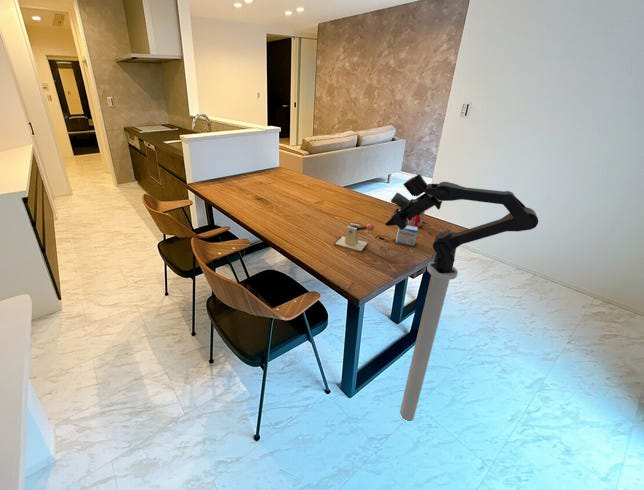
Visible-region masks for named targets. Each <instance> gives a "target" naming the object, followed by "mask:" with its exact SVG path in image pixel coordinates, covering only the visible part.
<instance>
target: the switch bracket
mask: <svg viewBox="0 0 644 490" xmlns="http://www.w3.org/2000/svg"><path fill="white" fill-rule="evenodd" d="M351 226H356V228H354V227H351ZM358 227H361V224H357V223H353V222H350V223H349V225H347V226H346V229H345V236H343V235H342V236H341V238H340V239H338V240H337V241H336V242H335V245H337V246H341V247H344V248H347V249H352V250H355V251H359V252H362V251H363V250H364V249H365V247H366V246H367V245H368V242H367V241H363V240H360V239H359V236H360V230H357V228H358Z"/></svg>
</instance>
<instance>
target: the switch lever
mask: <svg viewBox="0 0 644 490" xmlns="http://www.w3.org/2000/svg"><path fill="white" fill-rule="evenodd" d="M351 227H354V228H356V226H351ZM374 229H375V225H374V224H373V223H368V224H366V226H365V225H364V226H360V227H358V228H357V230H359V231H363V230H367V231H369V232H372V231H374Z"/></svg>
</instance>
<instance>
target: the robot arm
mask: <svg viewBox="0 0 644 490" xmlns="http://www.w3.org/2000/svg"><path fill="white" fill-rule="evenodd" d="M403 187H404V188H405V189H406V191H408V193H409V194H410V195H411V196H412V197H415V198H410V199H408V198H407V197H406V196H405V195H403V194H401V193H400V192H396V193H395V195H394V196H393V197H392V198H391V199H390V203H391V204H394V205H395V206H397V207H398V208H397V207H396V210H395V211H394V212H393V213H392V215H391V216H390V219H388V220H387V221H386V222H385V226H386V227H392V226H397V228H400V229H401V230H402V229H404V228H406V226H407V225H408V221H407V219H408V220H409V221H410V220H412V218H413V217H415V216H417V215H421V214H422V212H424V211H425V212H426V211H428V210H429V209H431V208H433V207H435V208H436V209H437V210H440V209H441V208H442V204H443V202H454V201H460V200H463V201H472V202H479V203H488V204H496V205H503V206H504V207H505V208H506V210H507V211H508V212H509V213H507V214H506V215H504V216H503V217H501V218H499V219H496V220H493V221H490V222H487V223H483V224H480V225H477V226H474V227H470V228H468V229H464V230H461V231H459V232H452V231H451V229H447V230H446V231H441V232H440V231H439V233H438V234H437V235H436V236H435V238H434V240H433V243H432V248H433V250H434V251H435V253H436V254H435V257H434V261H433V262H434V263H431V264H430V265H431V266H432V267H433V268H434V269H435V270H436V271H437V272H439V273H455V270H453V269H452V268H453V267H454V263H455V260H456V253H457V252H456V251H457V248H459V247H460V246H461V245H464V244H468V243H472V242H475V241H478V240H482V239H486V238H489V237H492V236H495V235H496V236H497V235H499V234H502V233H505V232H506V233H507V232H515V233H516V232H518V233H519V232H524V231H530V230H533V229H535V228H536V227H537V226H538V225H539V218H538V216H537V213H536V211H535V209H533V208H530V207H527V206H526V205H525V204H524V203H523V202H522V201H521V200H520V199H518V198H517V196H516V195H515V194H514V192H512V191H510V190H506V191H505V190H504V191H503V190H493V189H486V188H485V189H484V188H475V187H474V188H473V187H466V186H462V185H460V184H457V183H453V182H449V181H441V182H439V183H427V182H426V181H425V179H424V178H423V176H422V175H421V174H420V173H419V174H417V175H415V176H413V177H411V178H409V179H408V180H406V181H405V182H404V183H403Z"/></svg>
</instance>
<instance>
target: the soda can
mask: <svg viewBox="0 0 644 490" xmlns="http://www.w3.org/2000/svg"><path fill="white" fill-rule="evenodd" d="M425 212H426V211H424V212H422V214H421V215H417V216H415V217H413V218H412V220H410V221H409V220H408V219H407V221H408V224H407V225H408V226H414V227H418V228H420V227H422V224H423V221H424V217H425Z"/></svg>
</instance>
